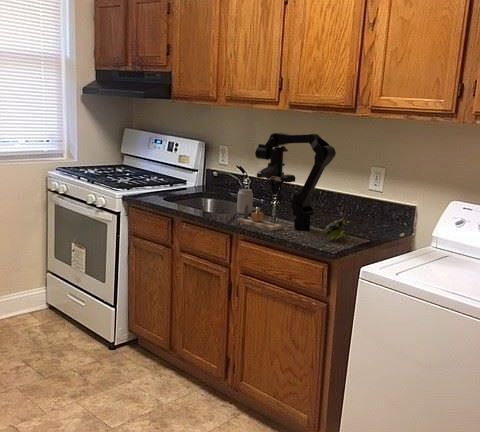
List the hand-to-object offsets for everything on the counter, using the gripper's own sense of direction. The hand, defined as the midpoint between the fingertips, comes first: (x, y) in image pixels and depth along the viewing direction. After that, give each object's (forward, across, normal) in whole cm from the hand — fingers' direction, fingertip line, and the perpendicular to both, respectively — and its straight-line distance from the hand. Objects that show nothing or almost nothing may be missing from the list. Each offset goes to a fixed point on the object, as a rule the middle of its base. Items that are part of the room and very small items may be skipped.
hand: (274, 195), depth 247 cm
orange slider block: (+11, -2, -9) cm, 14 cm away
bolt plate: (+13, -1, -9) cm, 16 cm away
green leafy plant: (+13, +37, -1) cm, 39 cm away
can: (+13, -23, +5) cm, 27 cm away
